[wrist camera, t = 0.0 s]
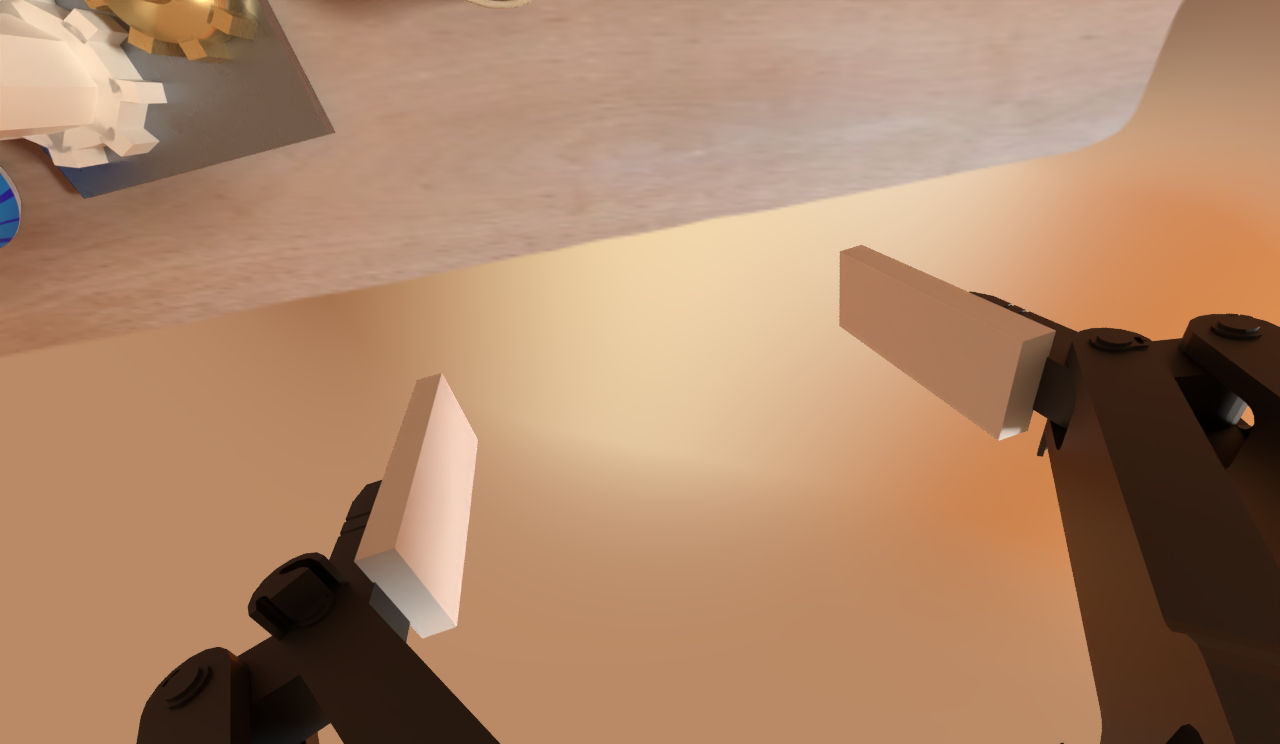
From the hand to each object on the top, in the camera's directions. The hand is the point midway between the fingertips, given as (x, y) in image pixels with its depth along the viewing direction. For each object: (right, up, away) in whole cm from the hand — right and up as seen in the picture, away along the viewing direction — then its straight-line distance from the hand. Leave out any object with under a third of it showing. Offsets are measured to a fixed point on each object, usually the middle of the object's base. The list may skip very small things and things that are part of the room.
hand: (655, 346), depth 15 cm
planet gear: (-34, +17, +13) cm, 40 cm away
